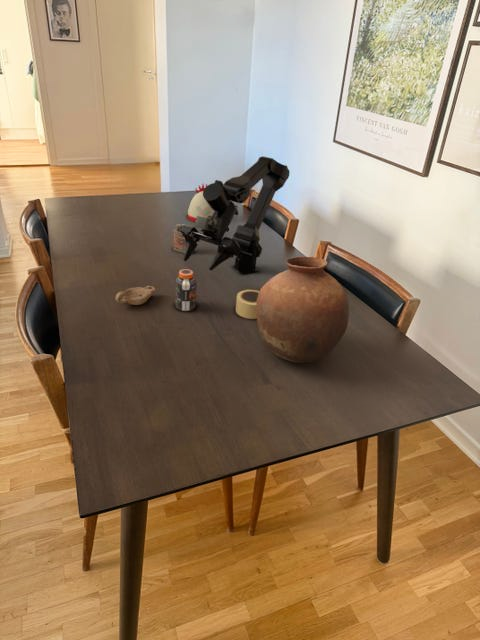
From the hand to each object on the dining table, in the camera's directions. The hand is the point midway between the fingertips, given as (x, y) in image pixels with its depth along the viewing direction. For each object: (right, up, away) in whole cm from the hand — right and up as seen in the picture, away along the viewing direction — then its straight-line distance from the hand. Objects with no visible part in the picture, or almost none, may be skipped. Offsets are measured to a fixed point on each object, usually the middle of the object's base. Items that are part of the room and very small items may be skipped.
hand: (197, 265), depth 129 cm
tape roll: (+16, -13, +3) cm, 21 cm away
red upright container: (-9, +10, +37) cm, 39 cm away
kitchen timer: (-4, +30, +69) cm, 75 cm away
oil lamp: (-18, -11, +2) cm, 21 cm away
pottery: (+27, -24, -12) cm, 38 cm away
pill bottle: (-4, -12, +2) cm, 13 cm away
